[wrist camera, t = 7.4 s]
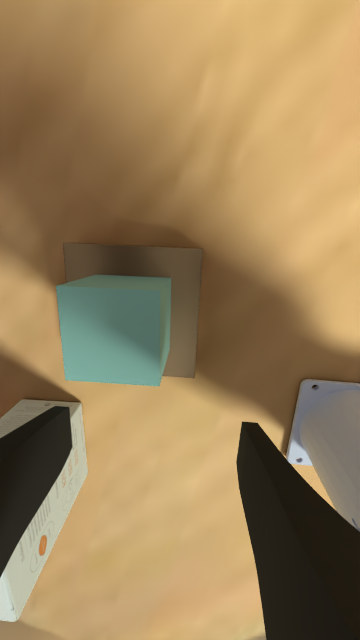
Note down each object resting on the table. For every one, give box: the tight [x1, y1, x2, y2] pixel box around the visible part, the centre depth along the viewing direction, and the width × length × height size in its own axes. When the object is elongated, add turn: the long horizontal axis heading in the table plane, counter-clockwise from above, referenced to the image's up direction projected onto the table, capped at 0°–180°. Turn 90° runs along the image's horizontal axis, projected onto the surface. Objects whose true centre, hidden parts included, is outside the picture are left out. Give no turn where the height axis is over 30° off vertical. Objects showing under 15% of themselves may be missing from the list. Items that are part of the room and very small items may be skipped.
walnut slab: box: [63, 243, 203, 378], centre depth 19 cm, size 9×9×3 cm
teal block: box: [56, 275, 171, 386], centre depth 15 cm, size 5×5×5 cm
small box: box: [0, 399, 88, 622], centre depth 19 cm, size 8×6×10 cm
